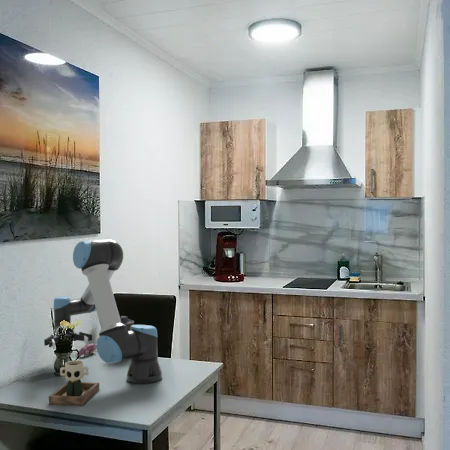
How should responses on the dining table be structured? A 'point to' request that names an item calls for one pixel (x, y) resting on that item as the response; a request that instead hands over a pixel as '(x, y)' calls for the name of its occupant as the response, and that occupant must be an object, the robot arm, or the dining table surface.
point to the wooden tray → (62, 399)
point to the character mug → (74, 376)
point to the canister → (126, 322)
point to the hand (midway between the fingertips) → (71, 343)
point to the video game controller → (87, 349)
